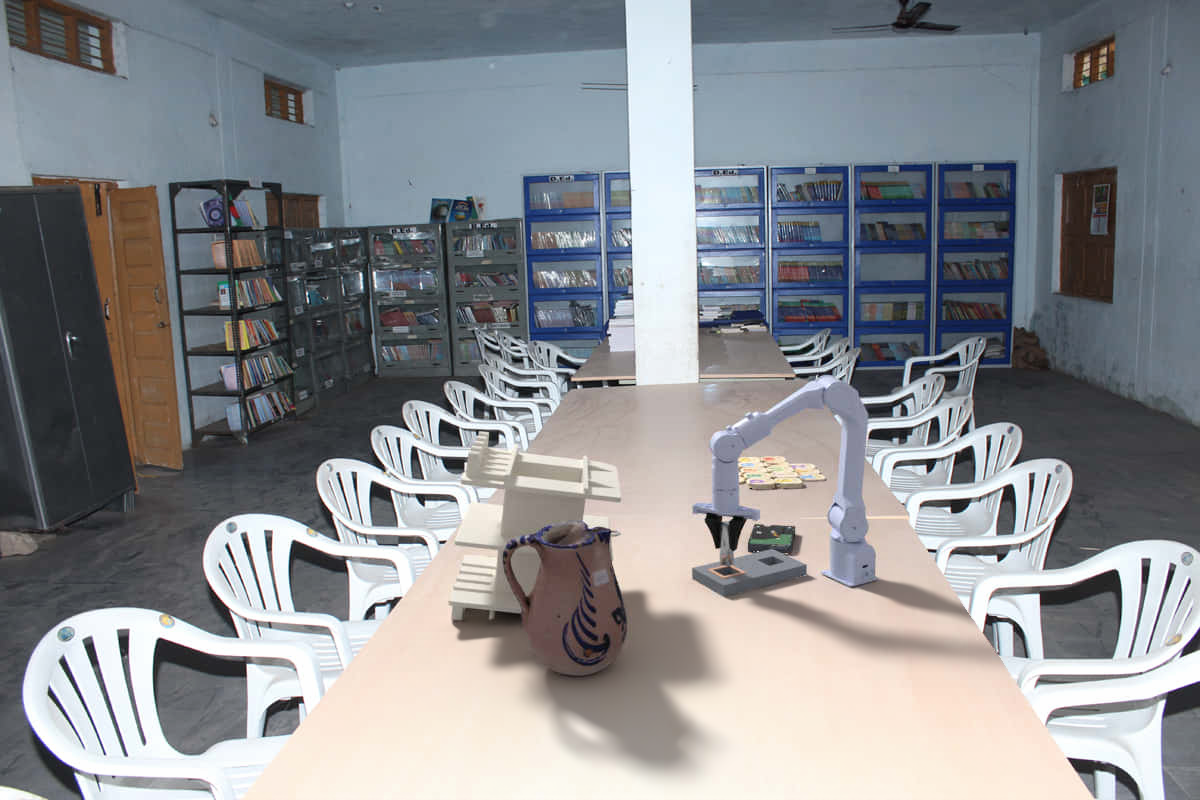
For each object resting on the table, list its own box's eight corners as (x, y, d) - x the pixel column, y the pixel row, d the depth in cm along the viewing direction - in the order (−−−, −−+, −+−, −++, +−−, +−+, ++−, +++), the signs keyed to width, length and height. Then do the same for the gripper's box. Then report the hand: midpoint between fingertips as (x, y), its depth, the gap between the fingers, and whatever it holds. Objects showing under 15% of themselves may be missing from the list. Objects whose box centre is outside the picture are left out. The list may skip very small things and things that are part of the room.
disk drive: (753, 534, 229) (747, 553, 215) (753, 523, 229) (747, 542, 215) (795, 536, 227) (792, 556, 212) (795, 525, 226) (792, 544, 212)
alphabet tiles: (832, 488, 266) (832, 480, 265) (720, 492, 266) (720, 484, 266) (808, 461, 298) (808, 453, 298) (709, 464, 299) (709, 457, 299)
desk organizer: (462, 577, 205) (478, 427, 199) (599, 592, 206) (618, 443, 200) (445, 627, 179) (462, 456, 173) (601, 644, 180) (624, 474, 174)
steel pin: (736, 563, 196) (736, 523, 194) (727, 566, 194) (726, 526, 192) (726, 560, 198) (725, 520, 197) (716, 563, 196) (716, 523, 195)
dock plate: (806, 575, 199) (806, 563, 199) (723, 596, 189) (723, 584, 189) (772, 559, 210) (772, 548, 209) (692, 578, 200) (692, 567, 199)
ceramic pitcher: (641, 678, 156) (637, 539, 151) (521, 700, 150) (512, 556, 146) (611, 637, 172) (606, 510, 168) (501, 655, 167) (493, 524, 162)
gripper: (764, 485, 193) (764, 546, 196) (700, 479, 200) (701, 538, 202) (754, 494, 187) (754, 557, 189) (688, 488, 194) (689, 548, 196)
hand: (726, 548), depth 195 cm, fingers closed on steel pin, 3 cm apart
